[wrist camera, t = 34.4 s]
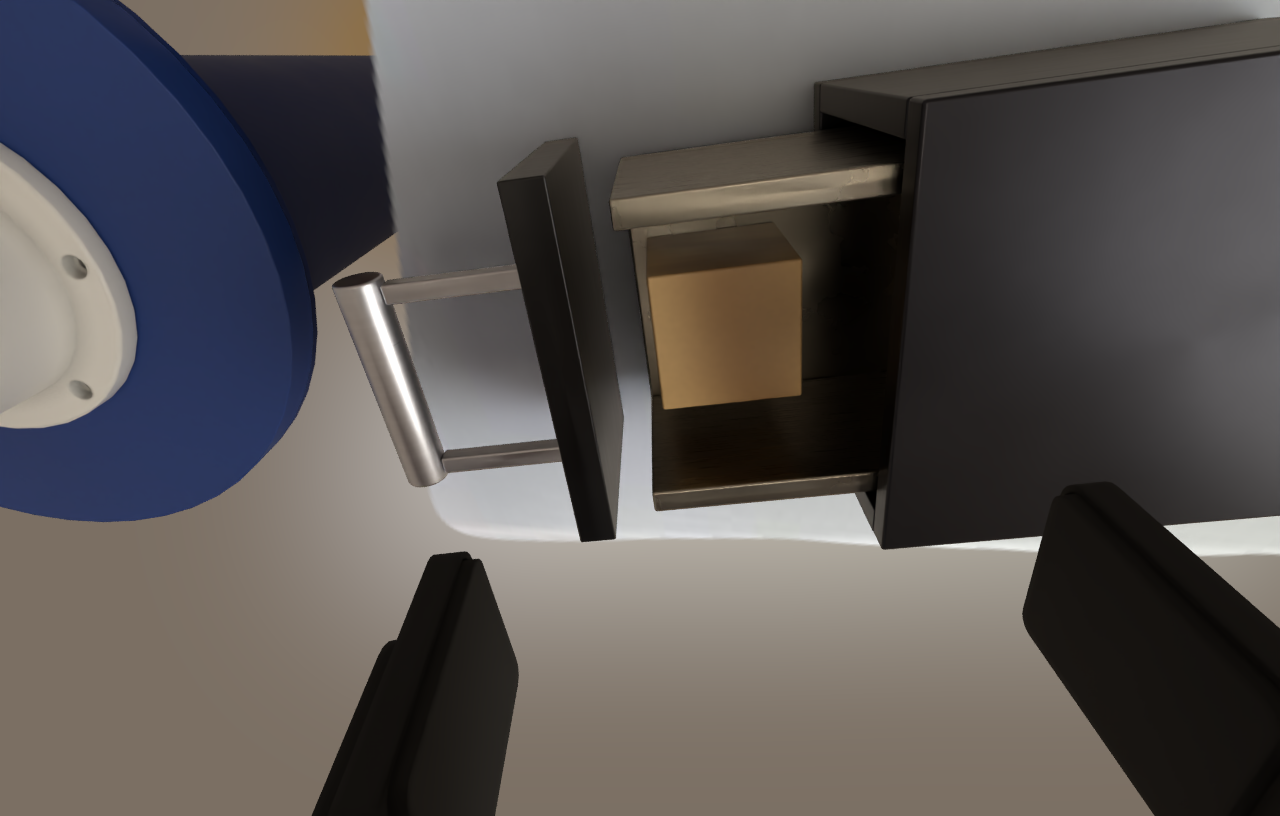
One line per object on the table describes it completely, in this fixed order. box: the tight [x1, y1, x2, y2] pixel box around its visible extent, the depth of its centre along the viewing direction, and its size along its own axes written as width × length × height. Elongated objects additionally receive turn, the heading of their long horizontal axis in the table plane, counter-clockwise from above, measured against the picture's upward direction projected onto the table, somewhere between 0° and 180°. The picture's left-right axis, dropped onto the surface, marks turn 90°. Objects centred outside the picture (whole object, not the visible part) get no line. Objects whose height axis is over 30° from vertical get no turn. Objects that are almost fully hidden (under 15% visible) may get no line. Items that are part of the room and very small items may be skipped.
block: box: [646, 222, 802, 410], centre depth 21 cm, size 5×5×5 cm
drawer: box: [332, 125, 906, 542], centre depth 21 cm, size 19×12×8 cm, turn 97°
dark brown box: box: [814, 17, 1280, 550], centre depth 20 cm, size 15×13×10 cm
